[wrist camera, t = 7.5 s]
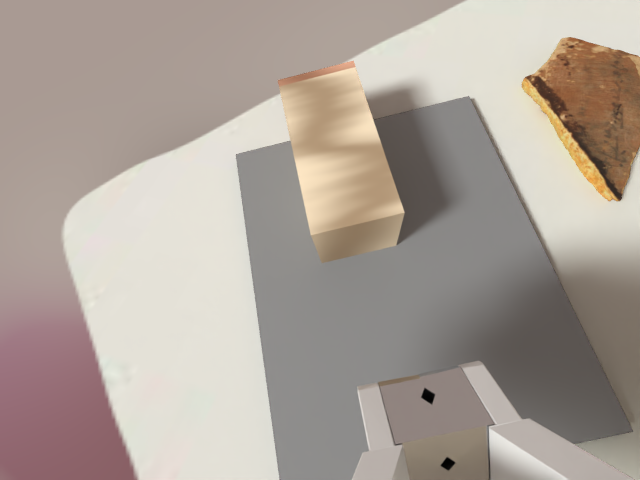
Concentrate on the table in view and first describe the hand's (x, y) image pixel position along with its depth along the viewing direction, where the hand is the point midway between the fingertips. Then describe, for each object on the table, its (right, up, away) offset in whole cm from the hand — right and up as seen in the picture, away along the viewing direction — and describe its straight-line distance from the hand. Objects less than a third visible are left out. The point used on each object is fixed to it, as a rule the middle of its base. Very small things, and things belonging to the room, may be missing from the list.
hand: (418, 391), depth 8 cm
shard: (+16, +12, +14) cm, 25 cm away
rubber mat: (+2, +2, +12) cm, 12 cm away
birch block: (0, +4, +10) cm, 10 cm away
